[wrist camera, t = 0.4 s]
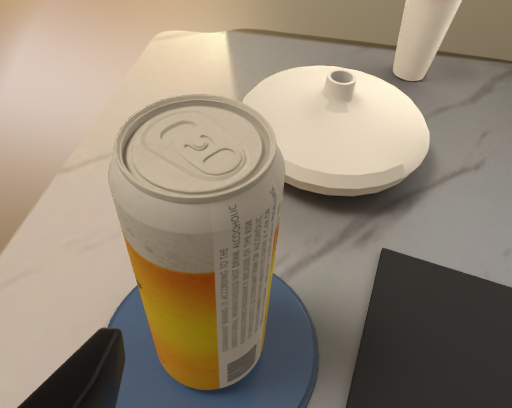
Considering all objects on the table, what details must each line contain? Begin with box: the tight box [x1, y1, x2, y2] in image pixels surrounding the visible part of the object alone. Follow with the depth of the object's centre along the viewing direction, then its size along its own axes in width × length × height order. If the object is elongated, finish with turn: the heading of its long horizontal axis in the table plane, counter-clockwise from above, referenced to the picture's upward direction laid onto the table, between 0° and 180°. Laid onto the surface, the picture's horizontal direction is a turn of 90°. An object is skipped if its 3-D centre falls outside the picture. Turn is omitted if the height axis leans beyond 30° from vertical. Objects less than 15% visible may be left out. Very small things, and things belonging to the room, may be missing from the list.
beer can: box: [108, 94, 285, 390], centre depth 20 cm, size 6×6×15 cm
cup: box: [393, 0, 462, 81], centre depth 43 cm, size 5×5×12 cm
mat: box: [346, 248, 512, 408], centre depth 26 cm, size 12×12×1 cm
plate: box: [107, 273, 319, 408], centre depth 26 cm, size 13×13×1 cm
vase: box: [242, 66, 430, 196], centre depth 36 cm, size 16×16×7 cm
